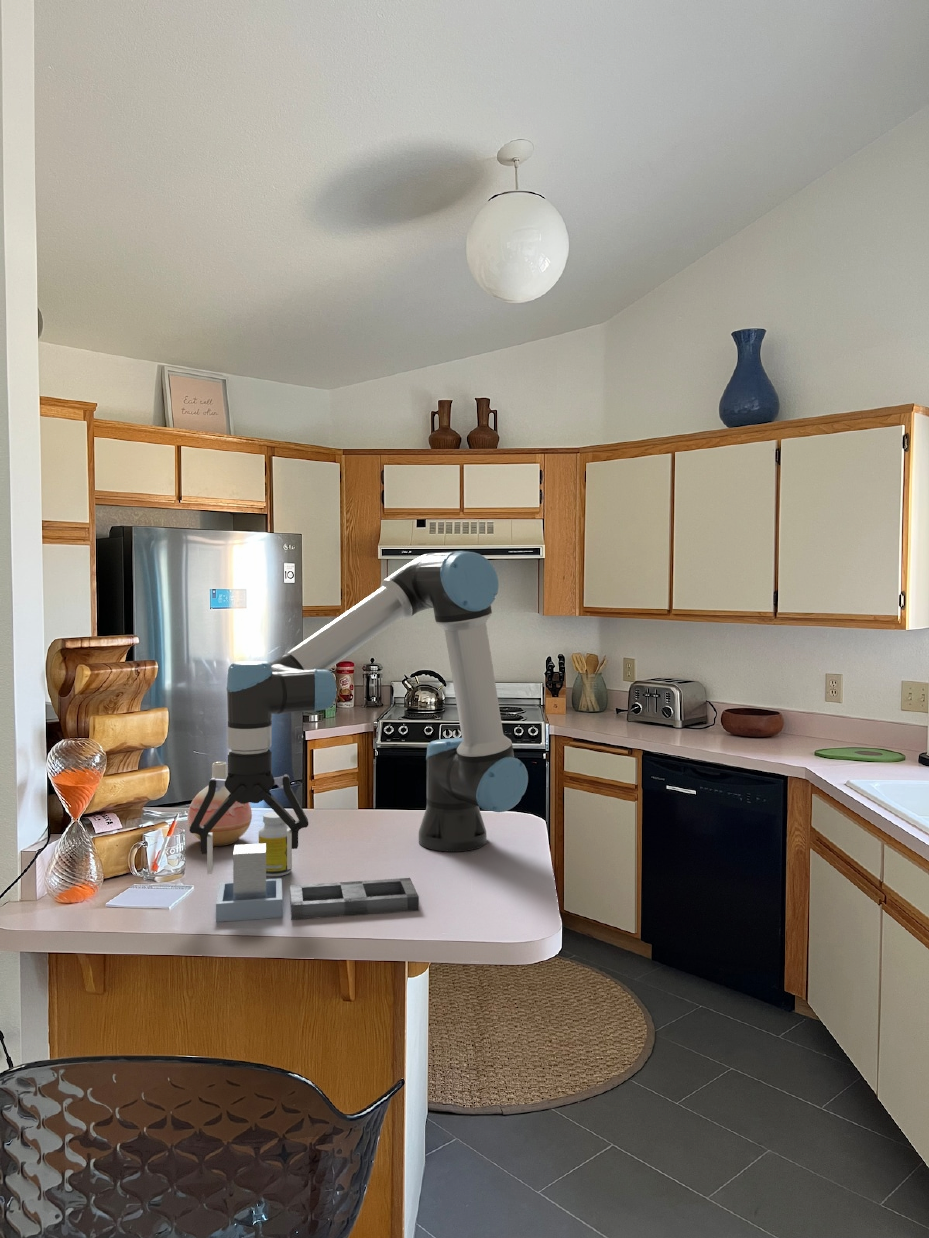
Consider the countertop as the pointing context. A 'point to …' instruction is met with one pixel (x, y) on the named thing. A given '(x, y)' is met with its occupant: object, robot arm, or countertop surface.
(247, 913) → the tray
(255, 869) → the white block
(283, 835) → the pill bottle
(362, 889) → the grey slotted holder
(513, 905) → the countertop surface
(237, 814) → the vase
